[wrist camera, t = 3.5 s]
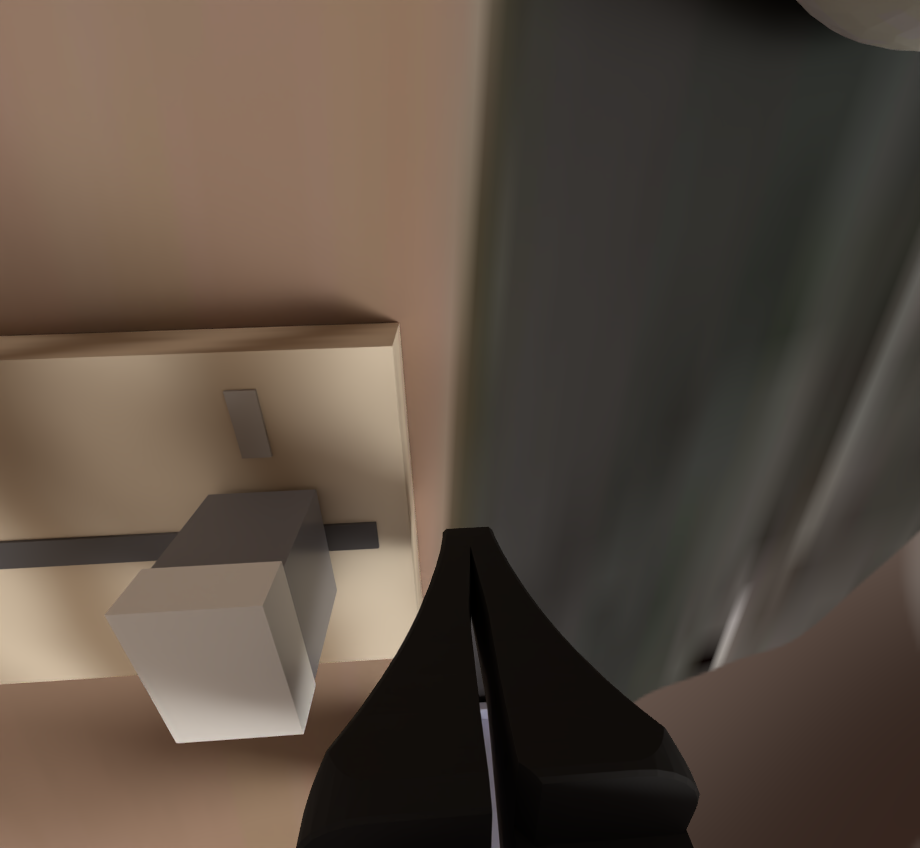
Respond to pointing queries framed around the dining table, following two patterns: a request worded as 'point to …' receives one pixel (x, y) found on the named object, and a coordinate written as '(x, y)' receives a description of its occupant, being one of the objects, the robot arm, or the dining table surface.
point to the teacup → (871, 21)
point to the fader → (233, 617)
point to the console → (195, 474)
